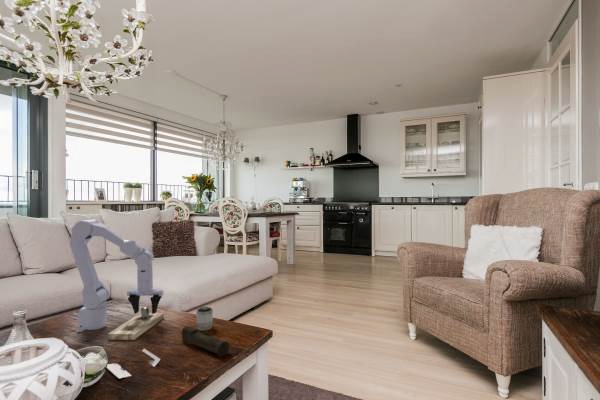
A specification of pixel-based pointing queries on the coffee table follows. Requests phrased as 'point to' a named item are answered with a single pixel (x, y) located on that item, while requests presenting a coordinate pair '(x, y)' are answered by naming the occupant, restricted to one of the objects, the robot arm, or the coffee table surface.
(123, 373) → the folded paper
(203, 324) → the camera lens
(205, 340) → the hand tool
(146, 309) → the grey cylinder
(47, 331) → the coffee table surface
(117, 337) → the tool board
